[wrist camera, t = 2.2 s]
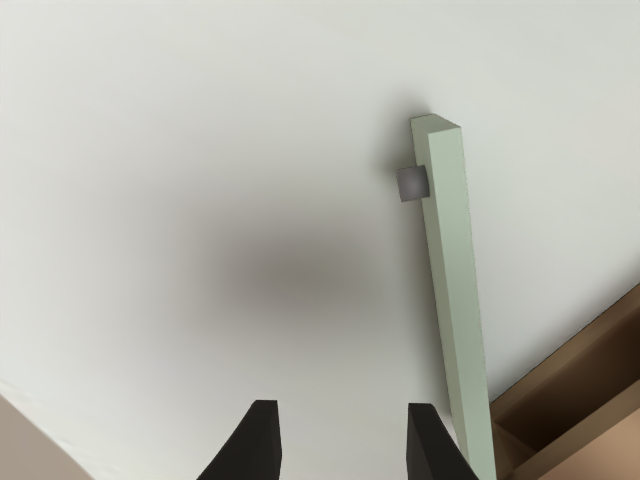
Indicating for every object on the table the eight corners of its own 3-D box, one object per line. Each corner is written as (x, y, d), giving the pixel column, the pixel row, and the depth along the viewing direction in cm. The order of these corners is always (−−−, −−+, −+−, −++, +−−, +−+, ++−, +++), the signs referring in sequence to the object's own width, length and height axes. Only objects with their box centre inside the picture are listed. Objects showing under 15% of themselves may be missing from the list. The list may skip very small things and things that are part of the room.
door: (471, 420, 23) (498, 499, 19) (433, 424, 23) (451, 503, 19) (434, 113, 18) (460, 127, 13) (385, 124, 18) (395, 140, 14)
